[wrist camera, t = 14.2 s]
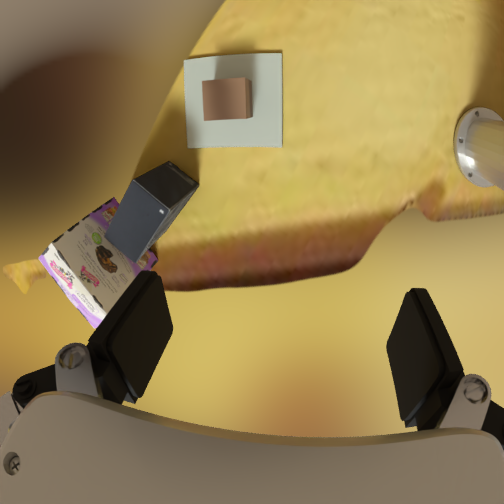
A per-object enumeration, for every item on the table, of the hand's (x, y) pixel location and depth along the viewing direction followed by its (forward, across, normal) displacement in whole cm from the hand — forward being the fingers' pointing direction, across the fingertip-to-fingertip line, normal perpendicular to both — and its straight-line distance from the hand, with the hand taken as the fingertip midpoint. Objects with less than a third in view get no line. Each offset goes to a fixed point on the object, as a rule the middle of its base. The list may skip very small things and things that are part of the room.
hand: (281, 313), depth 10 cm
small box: (+31, +19, +6) cm, 37 cm away
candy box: (+31, +28, +13) cm, 43 cm away
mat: (+30, +8, -8) cm, 32 cm away
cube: (+30, +8, -8) cm, 32 cm away
